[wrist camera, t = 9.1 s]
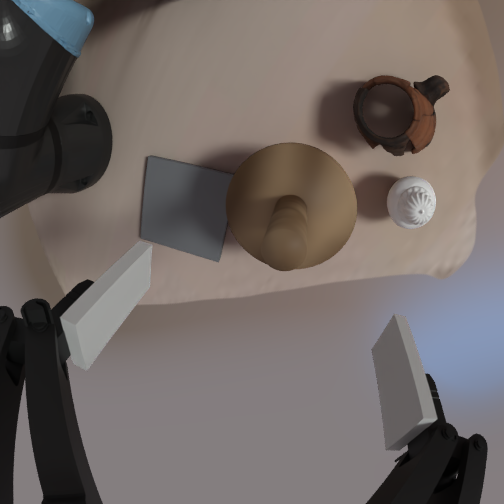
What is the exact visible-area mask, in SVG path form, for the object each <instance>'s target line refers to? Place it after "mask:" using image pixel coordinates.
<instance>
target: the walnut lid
mask: <svg viewBox="0 0 504 504" xmlns="http://www.w3.org/2000/svg"><path fill="white" fill-rule="evenodd" d="M226 215H227V220H228V223H229V226H230V229H231V231H232V233H233V235H234V236H235V238H236V240H237V241H238V242H239V244H240V245H241V246H242V247H243V248H244V249H245V250H246V251H247V252H248V253H249V254H250V255H252V256H253V257H255V258H256V259H258V260H259V261H261V262H263V263H265V264H268V265H269V266H270V267H272V268H274V269H276V270H280V271H290V270H293V269H303V268H308V267H313V266H315V265H318V264H321V263H323V262H325V261H326V260H328V259H330V258H331V257H333V256H334V255H335V254H336V253H337V252H338V251H340V250H341V248H342V247H343V246H344V245H345V244H346V242H347V241H348V239H349V237H350V235H351V233H352V231H353V229H354V225H355V222H356V216H357V200H356V195H355V191H354V188H353V185H352V183H351V181H350V179H349V177H348V175H347V174H346V172H345V171H344V169H343V168H342V167H341V166H340V164H339V163H338V162H337V161H336V160H334V159H333V158H332V157H331V156H329V155H328V154H327V153H325V152H323V151H322V150H320V149H318V148H315V147H312V146H310V145H305V144H301V143H280V144H275V145H272V146H268V147H266V148H264V149H262V150H259V151H258V152H256V153H255V154H253V155H252V156H250V157H249V158H248V159H247V160H246V161H245V162H243V163H242V165H241V166H240V167H239V168H238V169H237V171H236V172H235V174H234V175H233V177H232V179H231V182H230V184H229V187H228V190H227V195H226Z"/></svg>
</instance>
